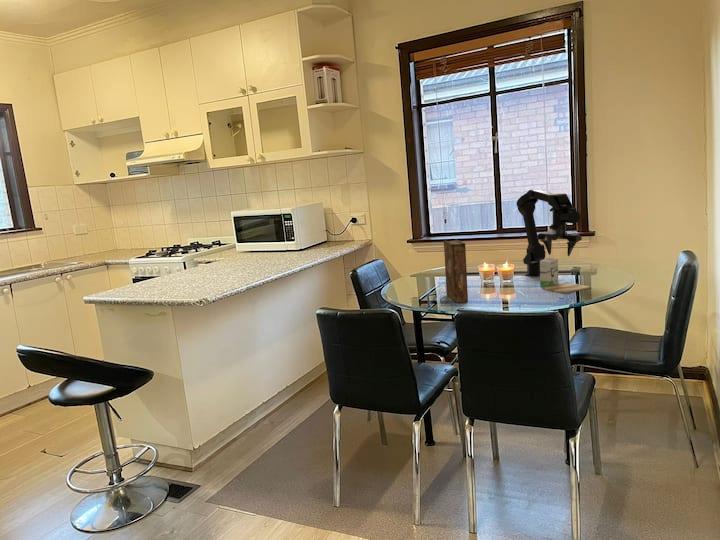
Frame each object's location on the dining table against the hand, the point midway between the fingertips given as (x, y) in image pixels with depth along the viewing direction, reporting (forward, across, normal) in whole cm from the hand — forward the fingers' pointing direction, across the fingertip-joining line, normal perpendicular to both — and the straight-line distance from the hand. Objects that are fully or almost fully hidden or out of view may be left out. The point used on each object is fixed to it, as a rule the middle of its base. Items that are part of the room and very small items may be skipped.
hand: (559, 255), depth 248 cm
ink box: (+13, 0, -8) cm, 15 cm away
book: (+13, -22, -49) cm, 55 cm away
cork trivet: (+12, +9, -11) cm, 19 cm away
